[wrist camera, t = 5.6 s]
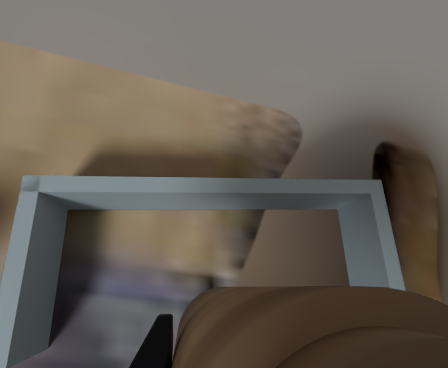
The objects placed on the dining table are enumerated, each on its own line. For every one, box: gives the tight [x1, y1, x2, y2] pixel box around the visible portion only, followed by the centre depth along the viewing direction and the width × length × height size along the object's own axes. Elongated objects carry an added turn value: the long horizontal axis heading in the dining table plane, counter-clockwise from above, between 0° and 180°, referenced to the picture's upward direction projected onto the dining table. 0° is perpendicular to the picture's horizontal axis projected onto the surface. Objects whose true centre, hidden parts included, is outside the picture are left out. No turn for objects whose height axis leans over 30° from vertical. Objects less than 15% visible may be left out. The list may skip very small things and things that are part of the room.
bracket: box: [0, 175, 405, 368], centre depth 19 cm, size 10×23×4 cm, turn 92°
